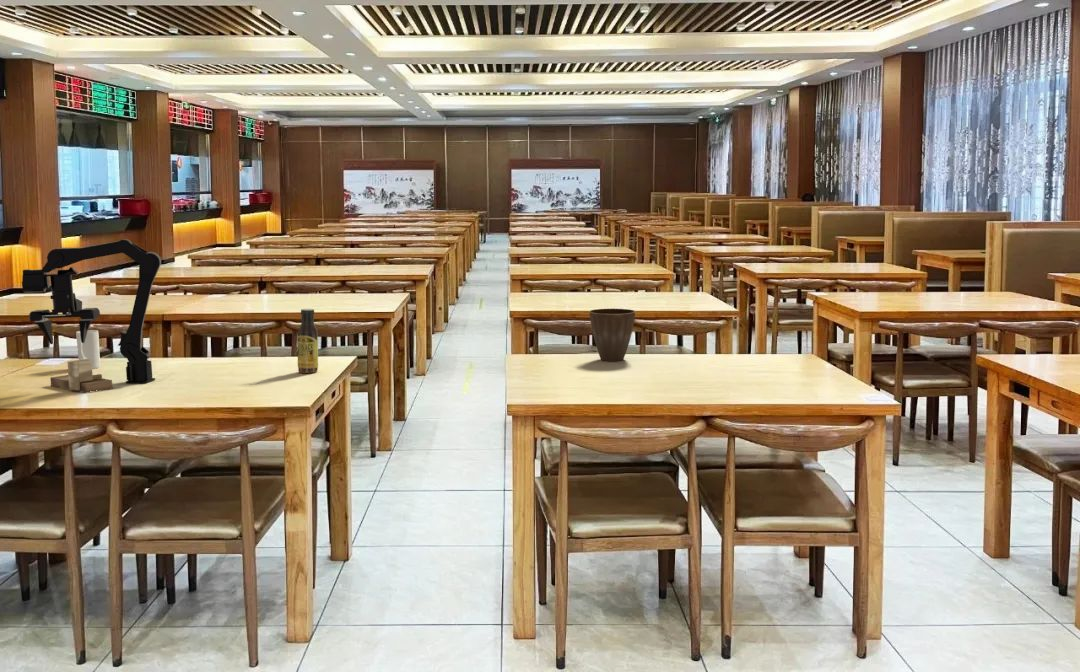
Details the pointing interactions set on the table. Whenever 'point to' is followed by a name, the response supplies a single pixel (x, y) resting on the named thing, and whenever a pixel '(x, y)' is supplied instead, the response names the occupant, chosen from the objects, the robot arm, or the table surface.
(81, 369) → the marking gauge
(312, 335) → the sauce bottle
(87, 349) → the mug
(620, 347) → the plant pot
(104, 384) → the walnut board
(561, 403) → the table surface
